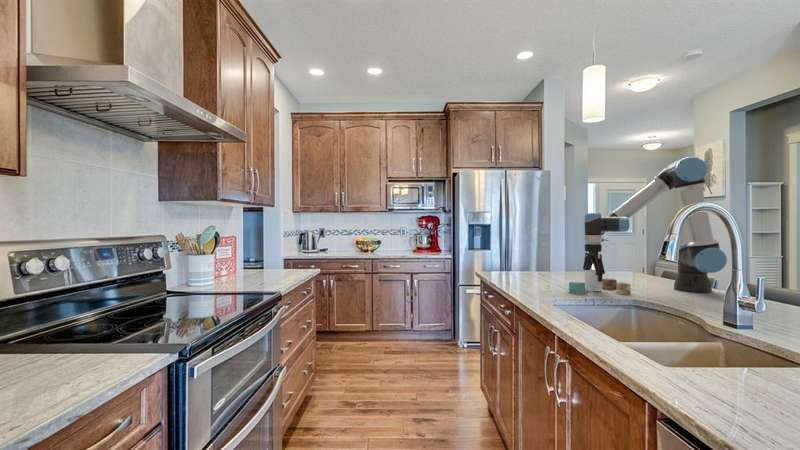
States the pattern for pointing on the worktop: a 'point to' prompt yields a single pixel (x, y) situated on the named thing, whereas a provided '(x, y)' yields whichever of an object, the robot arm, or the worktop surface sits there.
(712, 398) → the worktop surface
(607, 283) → the walnut block
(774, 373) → the worktop surface
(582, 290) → the teal painted block
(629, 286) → the maple block
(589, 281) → the white cup
